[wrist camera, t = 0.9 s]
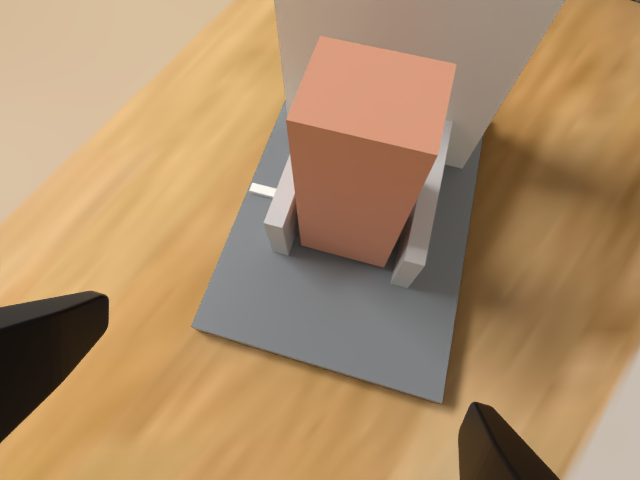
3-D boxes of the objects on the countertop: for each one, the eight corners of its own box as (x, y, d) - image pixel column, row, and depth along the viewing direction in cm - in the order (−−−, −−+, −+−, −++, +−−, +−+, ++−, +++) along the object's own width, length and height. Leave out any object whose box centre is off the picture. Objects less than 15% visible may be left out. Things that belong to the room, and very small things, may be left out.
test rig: (436, 403, 21) (598, 407, 9) (196, 329, 22) (49, 246, 10) (481, 118, 28) (602, -93, 16) (299, 77, 30) (285, -143, 18)
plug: (384, 267, 22) (437, 155, 12) (301, 245, 23) (286, 119, 12) (397, 208, 24) (456, 63, 13) (320, 188, 24) (320, 35, 14)
